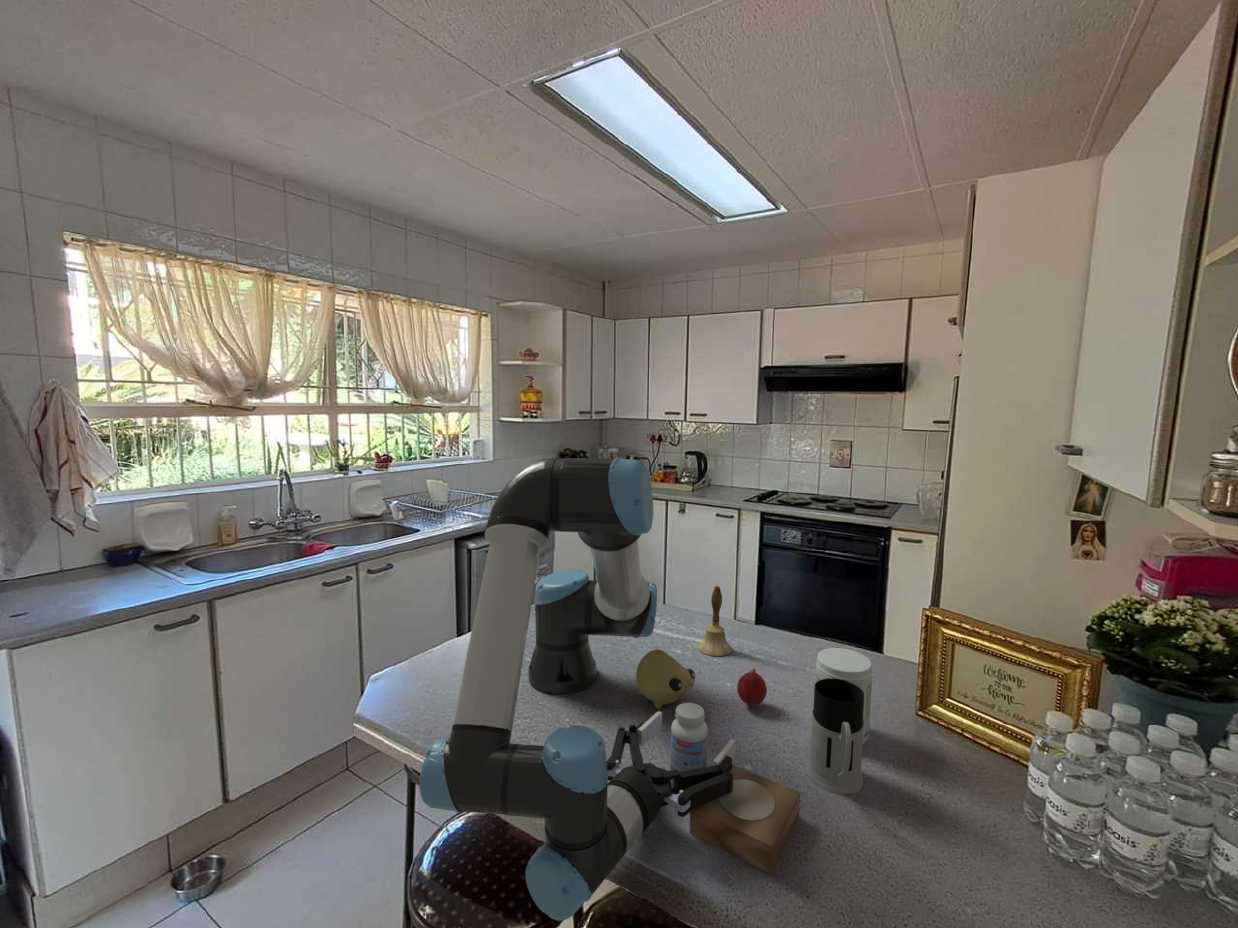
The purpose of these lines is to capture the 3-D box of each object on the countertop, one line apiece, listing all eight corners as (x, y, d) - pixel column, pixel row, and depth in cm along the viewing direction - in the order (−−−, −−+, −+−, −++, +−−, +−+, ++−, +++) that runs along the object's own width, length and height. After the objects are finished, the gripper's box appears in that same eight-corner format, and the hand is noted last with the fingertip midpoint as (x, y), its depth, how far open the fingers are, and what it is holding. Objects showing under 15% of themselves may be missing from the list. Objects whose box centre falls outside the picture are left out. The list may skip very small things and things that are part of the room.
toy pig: (673, 725, 104) (673, 672, 103) (626, 701, 113) (626, 651, 111) (702, 704, 112) (703, 654, 110) (657, 683, 120) (657, 636, 118)
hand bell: (707, 638, 142) (708, 579, 140) (737, 647, 137) (739, 585, 135) (692, 650, 135) (693, 588, 133) (723, 660, 130) (724, 595, 128)
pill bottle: (665, 780, 89) (666, 715, 88) (676, 757, 95) (677, 696, 94) (702, 790, 87) (703, 724, 86) (710, 766, 93) (712, 704, 91)
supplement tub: (839, 713, 108) (843, 642, 106) (880, 740, 100) (885, 664, 98) (802, 726, 104) (805, 653, 102) (842, 755, 96) (846, 676, 94)
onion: (766, 715, 107) (768, 677, 106) (736, 712, 109) (738, 674, 108) (765, 700, 113) (766, 663, 112) (736, 696, 114) (737, 660, 113)
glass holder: (857, 762, 94) (862, 679, 92) (876, 824, 80) (882, 729, 78) (804, 754, 96) (807, 673, 94) (813, 814, 82) (818, 721, 80)
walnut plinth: (689, 832, 79) (690, 805, 78) (724, 784, 88) (725, 760, 88) (771, 873, 72) (772, 844, 71) (799, 816, 82) (800, 791, 81)
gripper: (554, 796, 82) (633, 727, 99) (705, 881, 68) (766, 783, 85) (553, 750, 81) (633, 688, 98) (706, 826, 67) (768, 738, 84)
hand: (695, 732), depth 92 cm, fingers open, 13 cm apart
